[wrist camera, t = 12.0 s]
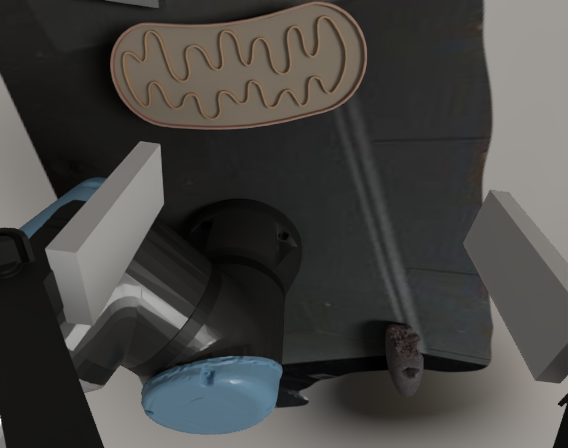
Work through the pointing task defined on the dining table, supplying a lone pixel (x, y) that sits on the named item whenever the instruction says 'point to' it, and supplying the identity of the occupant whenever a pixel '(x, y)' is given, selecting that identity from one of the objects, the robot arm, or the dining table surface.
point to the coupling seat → (144, 2)
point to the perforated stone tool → (404, 358)
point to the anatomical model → (240, 68)
